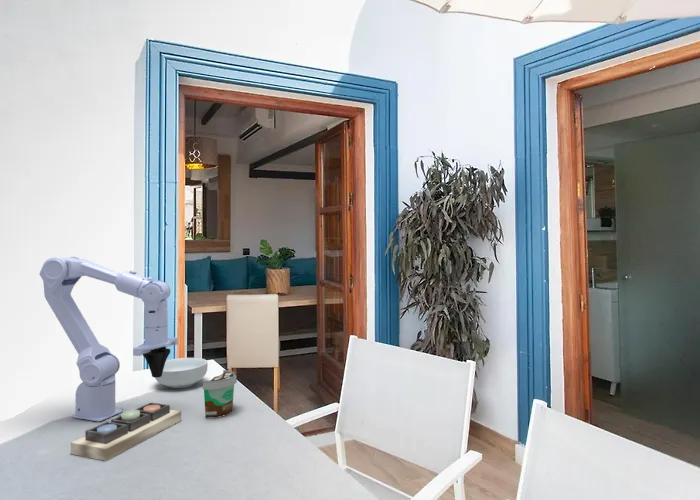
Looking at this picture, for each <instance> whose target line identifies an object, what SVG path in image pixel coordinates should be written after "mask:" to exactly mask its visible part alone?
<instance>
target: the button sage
mask: <svg viewBox="0 0 700 500" xmlns="http://www.w3.org/2000/svg"><path fill="white" fill-rule="evenodd" d="M121 415H122V421H128V422H132V421H134V420H136V419H139V418H140V411H139V410H135V409H127V410H124V411H123V412H121Z"/></svg>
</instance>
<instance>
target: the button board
mask: <svg viewBox="0 0 700 500" xmlns="http://www.w3.org/2000/svg"><path fill="white" fill-rule="evenodd" d="M148 405H160V409H158V410H156V411H154V412H150V411H143V408H144V407H145V406H148ZM134 410H139V411H140V418H139V419H136V420H134V421H132V422H128V421H122V414H121V415H120V416H117V417H115V418H112V419H110V421H106V422H103V423H101V424H98V425H96V426H93V427H92V428H89V429H87V430H85V431H84V432H85V433H84V434H85V436H83V437H80V438H78V439H75V440H73V441H71V442H70V455H76V456H80V457H84V456H85V458H89V457H90V458H91V459H95V460H100V461H104V462H106V461H108V460H110V459H113V458H114V457H116V456H118V455H120V454H121V453H123V452H125V451H127V450H129V449H131V448H133V447H134V446H137V445H138V443H139V444H141V443H142V442H144V441H146V440H148V439H150V438H151V436H152V437H153V435H154V436H155V435H157V434H159V433H161V432H163V431H165V430H167V429H169V428H170V427H173V426H174V425H176V424H178V423H180V422H181V421H182V410H175V409H174V410H173V409H171V406H170V404H163V403H159V402H158V403H155V402H149V403H147V404H145V405H141V406H140V407H138V408H135V409H134ZM180 420H181V421H180ZM179 421H180V422H179ZM177 422H178V423H177ZM175 423H176V424H175ZM107 424H115V425H117V429H115V430H113V431H111V432H109V433H101V432H97V428H98V427H100V426H103V425H107ZM169 426H170V427H169ZM168 427H169V428H168ZM166 428H167V429H166ZM164 429H165V430H164ZM162 430H163V431H162ZM160 431H161V432H160ZM158 432H159V433H158ZM149 437H150V438H149ZM147 438H148V439H147ZM145 439H146V440H145ZM136 444H137V445H136ZM90 458H89V459H90Z"/></svg>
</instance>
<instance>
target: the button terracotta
mask: <svg viewBox="0 0 700 500" xmlns="http://www.w3.org/2000/svg"><path fill="white" fill-rule="evenodd" d="M158 409H160V405H148V406H145V407H144V408H143V411H150V412H154V411H156V410H158Z"/></svg>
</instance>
